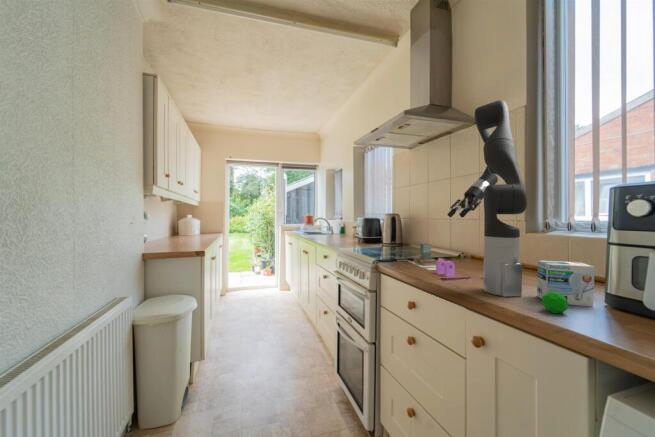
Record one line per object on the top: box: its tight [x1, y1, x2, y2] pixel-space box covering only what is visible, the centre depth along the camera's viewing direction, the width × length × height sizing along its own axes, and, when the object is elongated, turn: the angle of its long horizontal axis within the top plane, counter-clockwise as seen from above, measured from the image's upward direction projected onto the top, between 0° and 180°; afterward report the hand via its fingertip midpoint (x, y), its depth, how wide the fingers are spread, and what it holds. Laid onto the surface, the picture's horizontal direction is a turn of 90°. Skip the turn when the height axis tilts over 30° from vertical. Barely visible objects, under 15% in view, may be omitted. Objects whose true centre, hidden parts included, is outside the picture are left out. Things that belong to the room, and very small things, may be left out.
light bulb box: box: [536, 259, 596, 307], centre depth 76 cm, size 11×7×11 cm, turn 73°
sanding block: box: [413, 243, 438, 266], centre depth 124 cm, size 10×6×9 cm, turn 9°
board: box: [407, 260, 436, 271], centre depth 121 cm, size 20×11×2 cm, turn 9°
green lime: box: [541, 292, 569, 314], centre depth 67 cm, size 5×5×5 cm
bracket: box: [435, 258, 472, 281], centre depth 103 cm, size 13×6×7 cm, turn 108°
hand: (454, 216), depth 123 cm, fingers open, 8 cm apart
